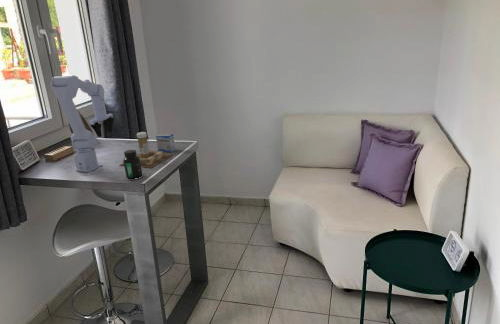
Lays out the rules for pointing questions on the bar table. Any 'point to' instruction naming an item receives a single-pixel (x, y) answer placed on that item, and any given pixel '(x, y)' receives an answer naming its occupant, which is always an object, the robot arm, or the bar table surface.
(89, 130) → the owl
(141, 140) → the sprinkles bottle
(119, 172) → the bar table surface
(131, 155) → the supplement bottle
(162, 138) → the medicine box
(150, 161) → the socket block
